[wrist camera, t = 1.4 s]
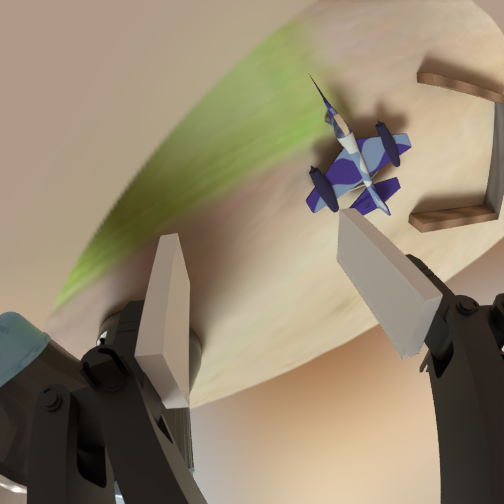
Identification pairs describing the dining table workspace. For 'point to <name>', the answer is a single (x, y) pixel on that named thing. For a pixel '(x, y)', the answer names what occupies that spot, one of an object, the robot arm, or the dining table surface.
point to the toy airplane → (357, 167)
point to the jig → (500, 175)
